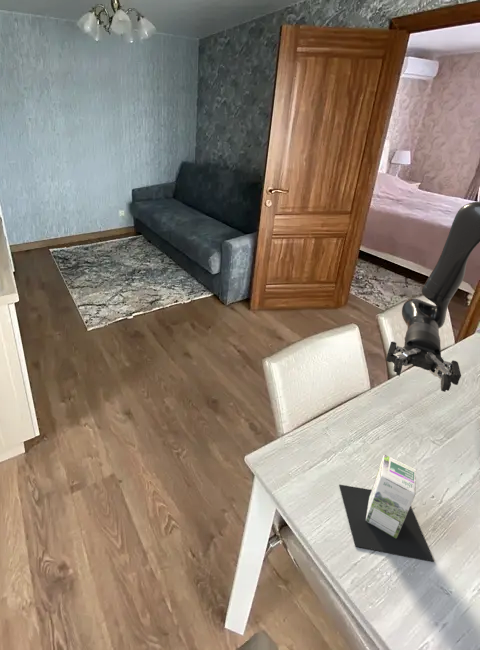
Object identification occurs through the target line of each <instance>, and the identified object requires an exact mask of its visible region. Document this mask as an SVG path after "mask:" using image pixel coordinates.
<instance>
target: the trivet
mask: <svg viewBox="0 0 480 650" xmlns="http://www.w3.org/2000/svg"><path fill="white" fill-rule="evenodd" d="M338 486H339V490H340V495H341V498H342V501H343V505H344V509H345V513H346V517H347V521H348V524H349V528H350V532H351V536H352V539H353V543H354V547H355V548H359V549H364V550H368V551H375V552H380V553H385V554H391V555H395V556H401V557H406V558H412V559H417V560H422V561H427V562H432V563H433V562H435V560H434V558H433V555H432V552H431V550H430V548H429V546H428V543H427V541H426V539H425V537H424V534H423V532H422V530H421V527H420V524H419V522H418V519H417V517H416V515H415V513H414V511H413V509H412V505H411V506H410V508H409V511H408V513H407V515H406V518H405V520H404V522H403V525H402V527H401V529H400V532H399V534H398V536H397V538H394V537H392V536H390V535H389V534H387V533H385V532H384V531H382V530H380V529H378V528H377V527H375V526H373V525H371V524H370V523H368V522H366V515H367V508H368V502H369V496H370V493H371V491H372V489H369V488H364V487H363V488H362V487H357V486H352V485H346V484H339V485H338Z"/></svg>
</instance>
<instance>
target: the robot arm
mask: <svg viewBox="0 0 480 650" xmlns="http://www.w3.org/2000/svg"><path fill="white" fill-rule="evenodd" d="M479 244H480V201H472V202H469V203H466V204H464V205H463V206H461V207H460V209H459V210H457V212H456V214H455V215H454V218H453V220H452V224H451V226H450V229H449V233H448V234H447V238H446V240H445V243H444V245H443V248H442V251H441V253H440V256H439V258H438V260H437V262H436V264H435V266H434V267H433V269H432V270H431V272H430V274H429V276H428V278H427V279H426V281H425V283H424V284H423V286H422V288H421V294H422V296H423V297H424V298H426V299H427V300H429V302H431V303H429V302H427V301H423V300H421V299H419V298H409V299H407V300H406V301H405V302H404V303H403V305H402V307H401V316H402V319H403V321H404V323H405V325H406V327H407V329H406V332H405V335H404V336H405V337H404V346H399V345H397V342H395V341H390V345H389V348H388V351H387V354H386V357H385V361H386V362H387V363H393V371H392V372H394V373H395V375H396V376H399V377H400V376H401V373H402V370H403V367H408V366H411V365H412V366H413V367H417V368H421V369H422V370H425V371H428V372H429V373H431V374H432V375H433V376H434V377H436V378H438V379H439V380H440V391H441V392H444V393H446V391H448V392H449V391H450V389H451V386H452V385H455V386H458V385H459V382H460V379H461V378H462V374H461V369H460V365H459V362H458V361H457V360H454V359H453V360H451V361H446V360H444V358H443V357H442V349H441V347H442V345H441V337H440V330H439V329H441V328H442V327H443V326H444V324H445V322H446V317H447V313H448V312H447V311H448V306H449V305H450V302H451V300H452V298H453V297H454V295H455V294H456V292H457V291H458V289H459V288H460V287H461V284H462V283H463V281H464V278H465V275H466V269H467V264H468V260H469V258H470V256H471V254H472V252H473V251H474V249H475V248H476V247H477V246H478V245H479ZM432 303H433V304H432ZM399 353H400V354H399Z"/></svg>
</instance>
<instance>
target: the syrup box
mask: <svg viewBox="0 0 480 650" xmlns="http://www.w3.org/2000/svg"><path fill="white" fill-rule="evenodd" d="M379 464H380V465H379V468H378V469H377V473H376V476H375V479H374V482H373V485H372V488H371V490H372V491H371V493H370V496H369V502H368V508H367V515H366V522H368V523H370V524H371V525H373V526H375V527H377V528H378V529H380V530H382V531H384V532H385V533H387V534H389V535H390V536H392V537H394V538H397V536H398V534H399V532H400V529H401V527H402V525H403V522H404V520H405V518H406V515H407V513H408V511H409V508H410V506H411V507H412V503H414V502H413V501H414V499H415V497H416V490H417V489H416V488H417V485H416V484H417V469H416V468H414V467H412V466H410V465H408V464H405V463H403V462H401V461H399V460H397V459H394V458H393V457H391V456H389V455H387V454H383V456H382V459H381V462H380V463H379Z"/></svg>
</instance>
